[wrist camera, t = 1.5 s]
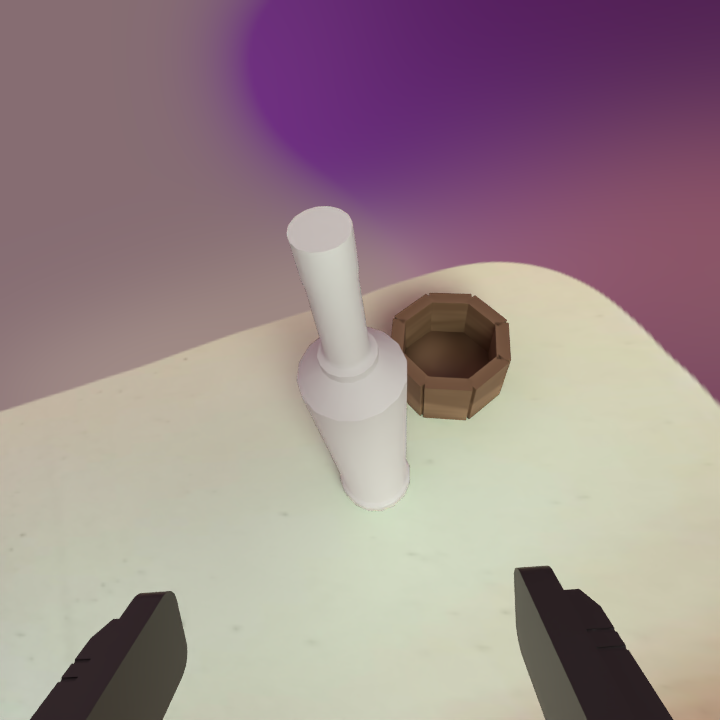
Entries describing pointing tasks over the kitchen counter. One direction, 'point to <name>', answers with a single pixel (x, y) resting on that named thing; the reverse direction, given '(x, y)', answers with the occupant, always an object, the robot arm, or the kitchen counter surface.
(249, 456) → the kitchen counter surface
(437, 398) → the wooden cup
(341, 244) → the bottle
